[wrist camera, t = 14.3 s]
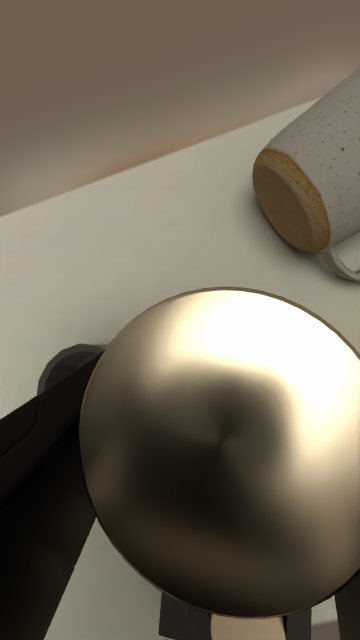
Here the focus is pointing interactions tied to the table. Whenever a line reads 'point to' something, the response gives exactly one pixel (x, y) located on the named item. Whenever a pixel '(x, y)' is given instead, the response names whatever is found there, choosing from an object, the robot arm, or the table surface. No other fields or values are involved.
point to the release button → (246, 628)
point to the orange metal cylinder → (228, 452)
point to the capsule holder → (67, 363)
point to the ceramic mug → (316, 176)
